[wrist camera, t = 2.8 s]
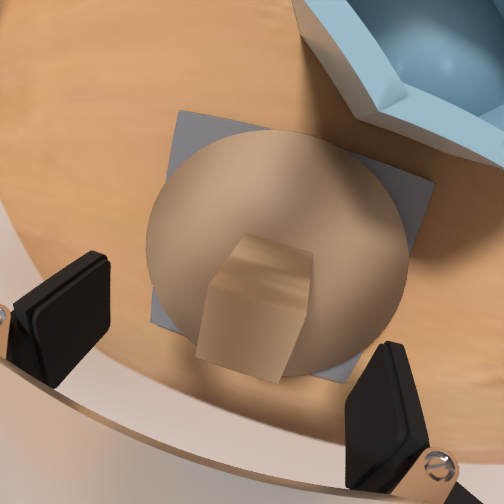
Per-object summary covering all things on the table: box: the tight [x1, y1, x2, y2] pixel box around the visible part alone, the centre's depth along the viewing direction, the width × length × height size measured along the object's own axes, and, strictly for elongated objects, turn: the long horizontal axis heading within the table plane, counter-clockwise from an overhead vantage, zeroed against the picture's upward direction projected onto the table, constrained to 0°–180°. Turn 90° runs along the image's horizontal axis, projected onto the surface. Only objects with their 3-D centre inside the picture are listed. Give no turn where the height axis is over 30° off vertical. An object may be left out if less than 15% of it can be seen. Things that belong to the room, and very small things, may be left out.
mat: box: [150, 110, 436, 383], centre depth 16 cm, size 12×12×1 cm
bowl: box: [292, 0, 504, 170], centre depth 8 cm, size 11×11×6 cm
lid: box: [146, 130, 408, 384], centre depth 13 cm, size 12×12×6 cm
